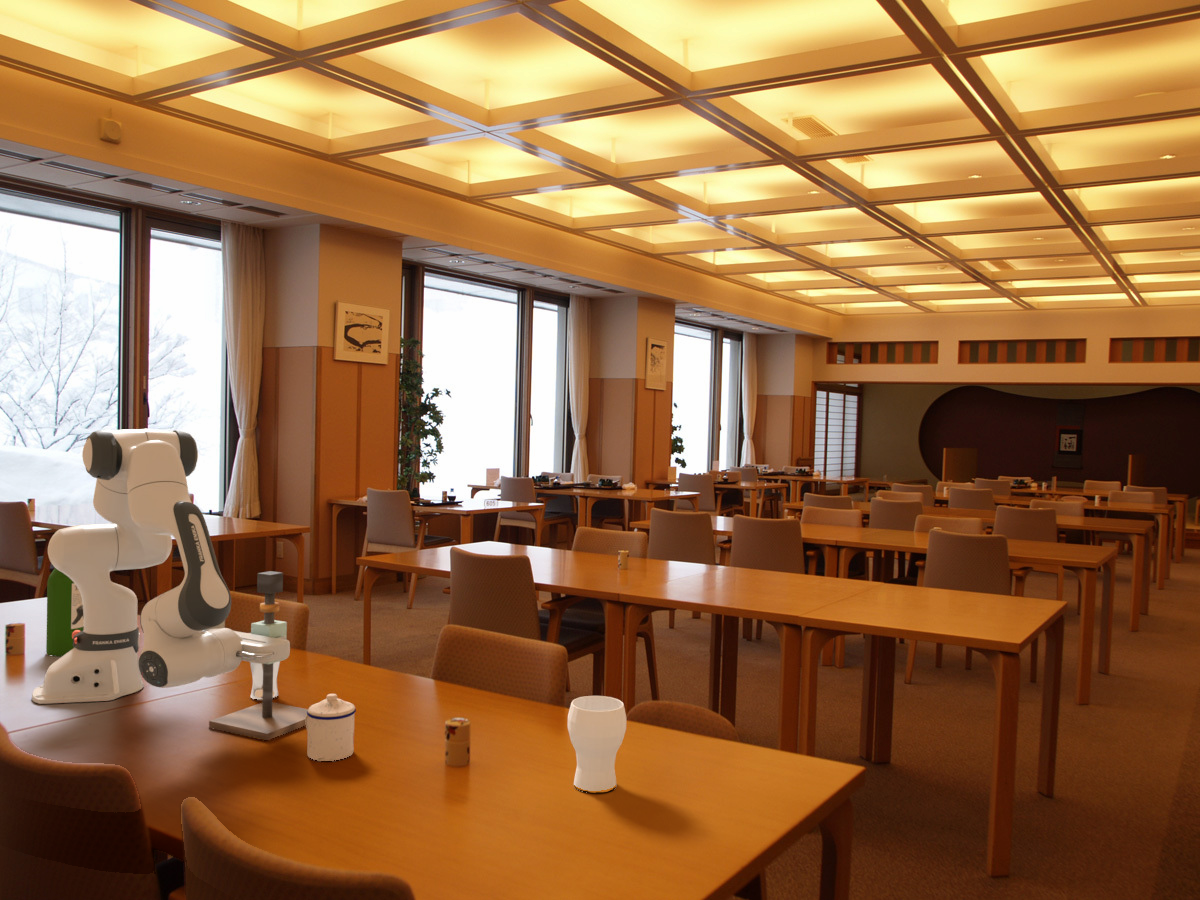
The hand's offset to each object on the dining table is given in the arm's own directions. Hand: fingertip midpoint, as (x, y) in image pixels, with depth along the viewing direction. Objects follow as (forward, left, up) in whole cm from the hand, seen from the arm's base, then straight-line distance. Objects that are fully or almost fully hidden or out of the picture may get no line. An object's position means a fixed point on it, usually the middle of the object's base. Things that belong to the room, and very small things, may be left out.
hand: (271, 638), depth 195 cm
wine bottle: (-42, +79, -18) cm, 92 cm away
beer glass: (+1, +19, -18) cm, 27 cm away
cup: (+48, -58, -18) cm, 77 cm away
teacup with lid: (+7, -23, -18) cm, 30 cm away
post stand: (-1, -1, -18) cm, 18 cm away
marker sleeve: (-1, -1, -5) cm, 5 cm away
